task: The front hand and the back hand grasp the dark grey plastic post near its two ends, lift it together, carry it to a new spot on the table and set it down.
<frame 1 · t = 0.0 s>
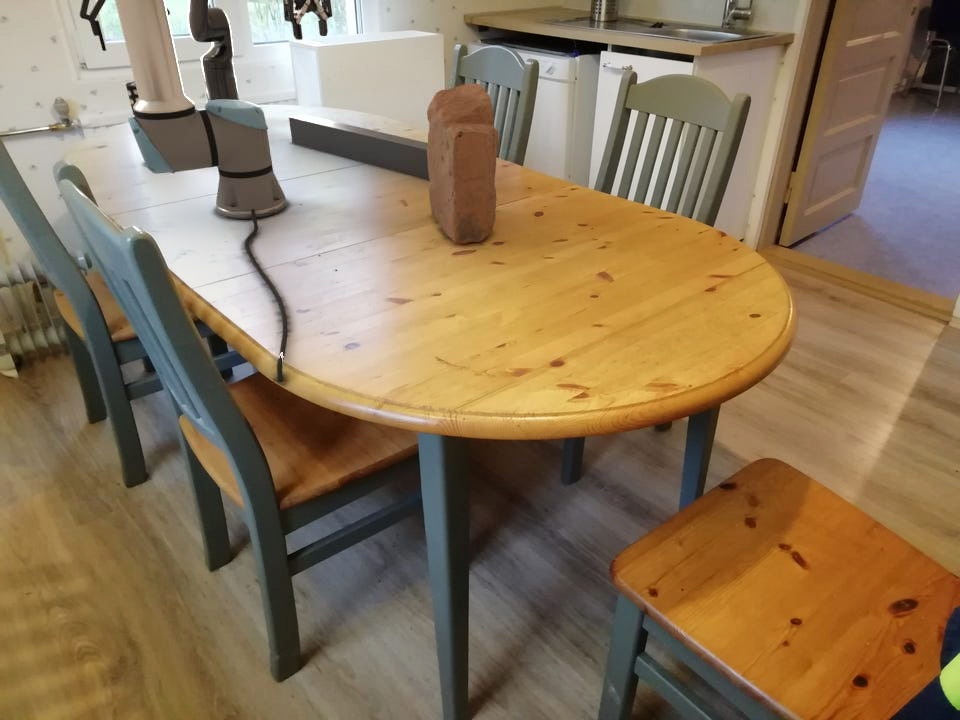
front hand: (133, 48, 174), 28 cm above the table, tool pointing down, fingers open, 13 cm apart
back hand: (311, 37, 184), 29 cm above the table, tool pointing down, fingers open, 8 cm apart
stone: (463, 225, 150), on the table
post: (381, 163, 188), on the table
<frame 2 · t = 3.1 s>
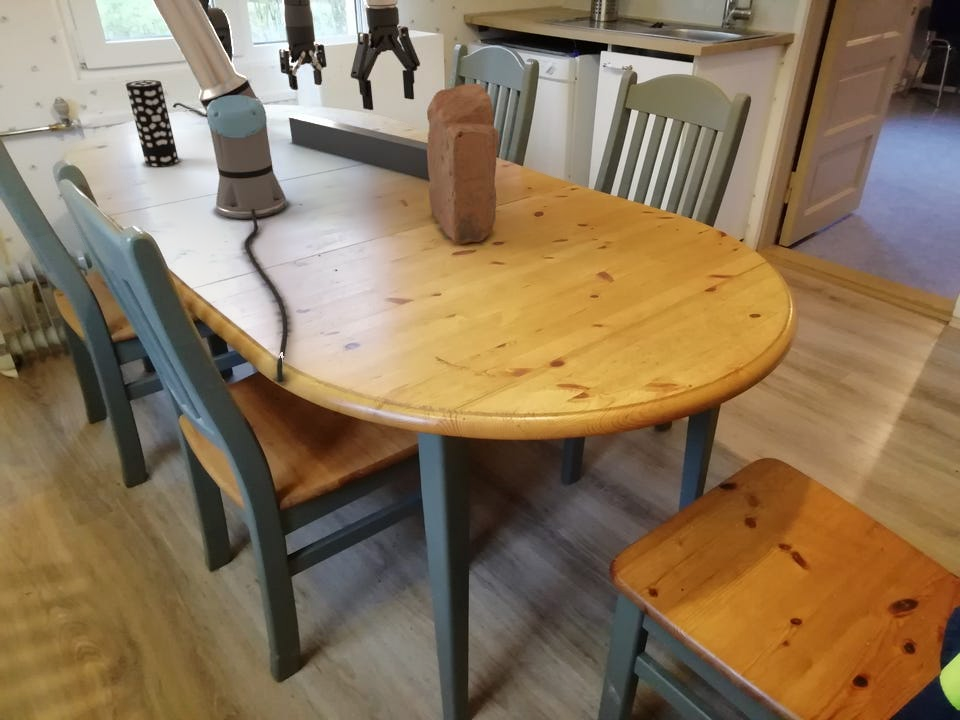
front hand: (389, 103, 168), 18 cm above the table, tool pointing down, fingers open, 13 cm apart
back hand: (306, 87, 193), 16 cm above the table, tool pointing down, fingers open, 8 cm apart
nothing on the table moved.
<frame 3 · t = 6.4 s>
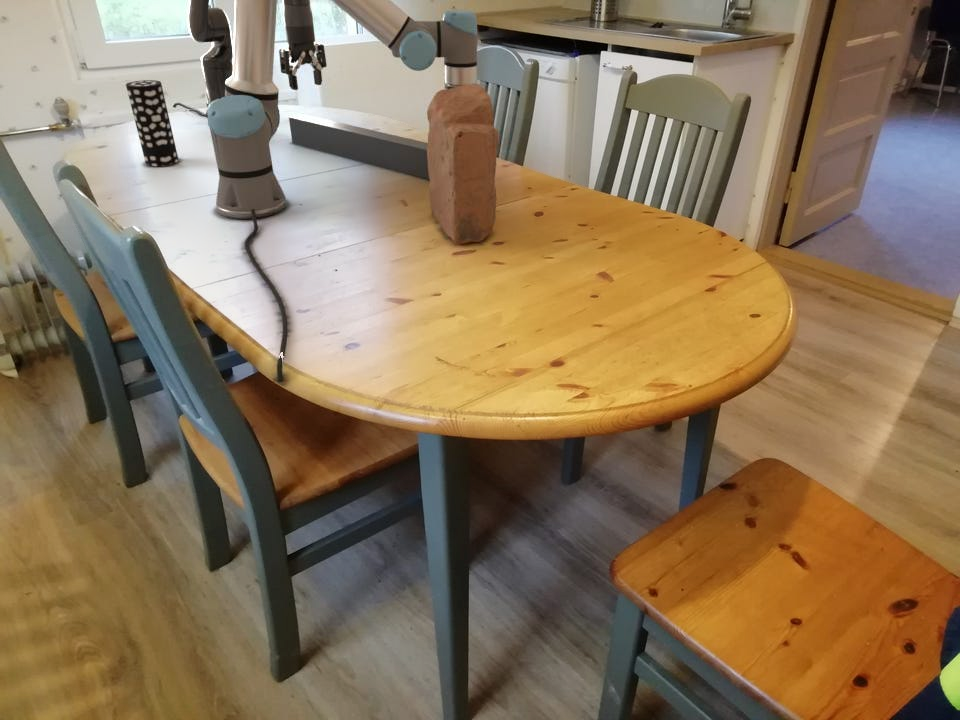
front hand: (461, 181, 174), 1 cm above the table, tool pointing down, fingers closed on post, 5 cm apart
back hand: (306, 87, 193), 16 cm above the table, tool pointing down, fingers open, 8 cm apart
post: (381, 163, 188), on the table, touching front hand
everything else where it was.
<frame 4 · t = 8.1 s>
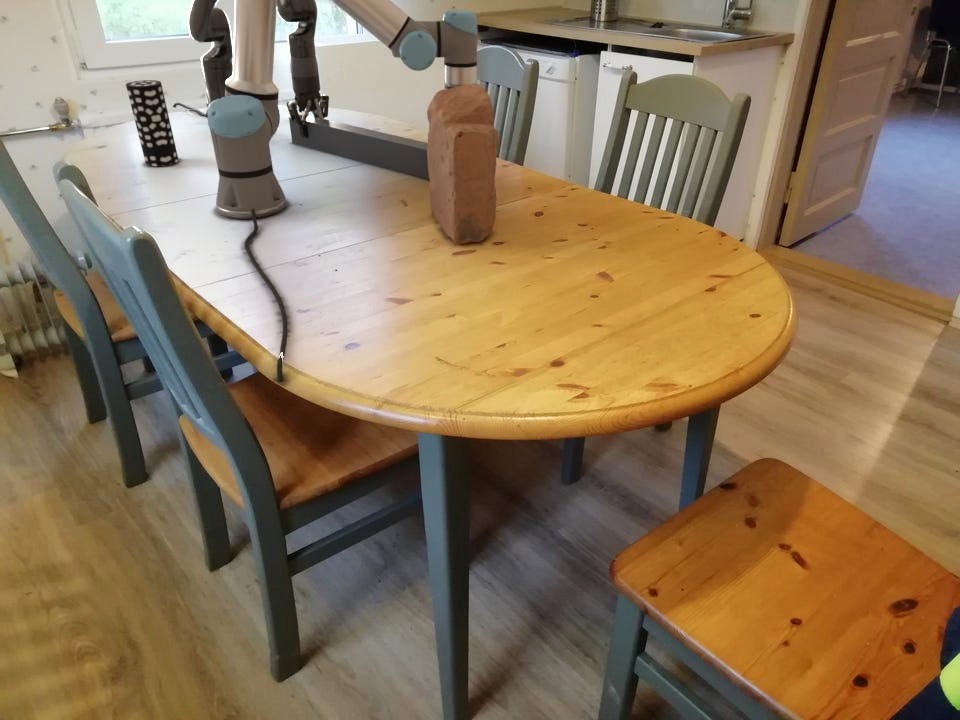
front hand: (461, 181, 174), 1 cm above the table, tool pointing down, fingers closed on post, 5 cm apart
back hand: (312, 135, 200), 3 cm above the table, tool pointing down, fingers closed on post, 5 cm apart
post: (381, 163, 188), on the table, touching front hand, back hand
everything else where it was.
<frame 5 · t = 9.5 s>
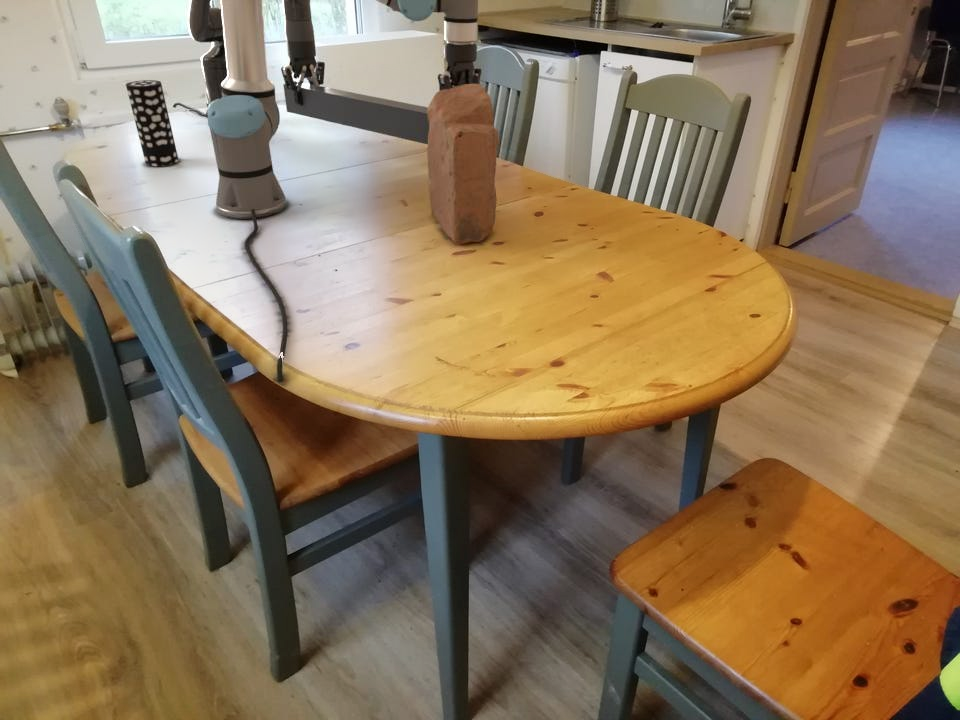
front hand: (459, 145, 169), 10 cm above the table, tool pointing down, fingers closed on post, 5 cm apart
back hand: (307, 102, 195), 12 cm above the table, tool pointing down, fingers closed on post, 5 cm apart
post: (378, 129, 183), point 9 cm above the table, touching front hand, back hand
everything else where it was.
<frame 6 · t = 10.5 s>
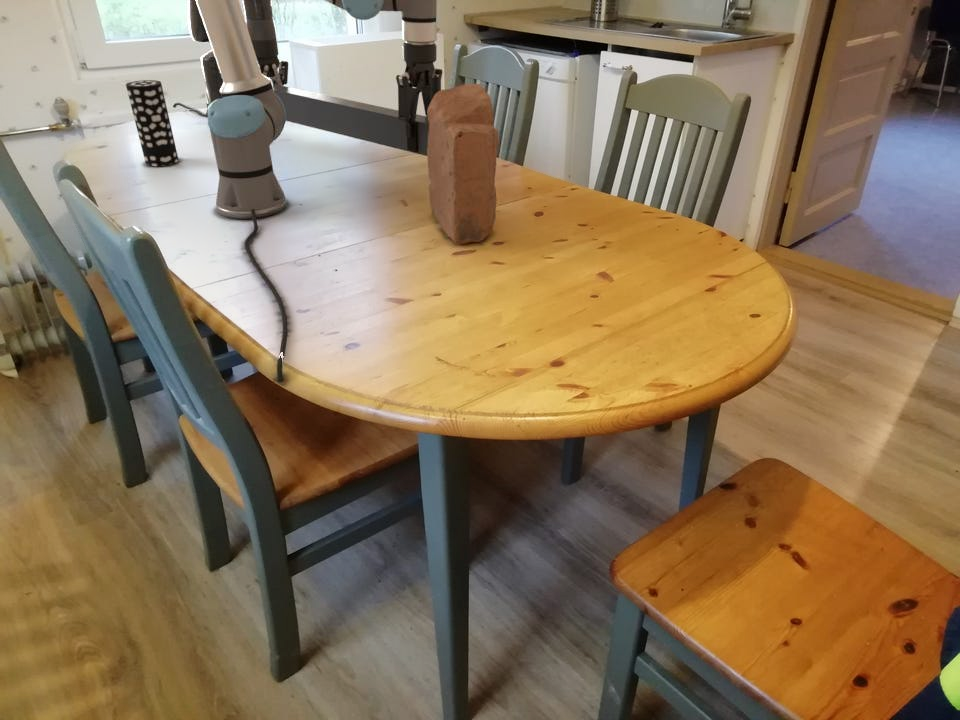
front hand: (420, 147, 165), 10 cm above the table, tool pointing down, fingers closed on post, 5 cm apart
back hand: (270, 103, 191), 13 cm above the table, tool pointing down, fingers closed on post, 5 cm apart
post: (341, 131, 179), point 10 cm above the table, touching front hand, back hand
everything else where it was.
when the front hand's fingers open (2 cm above the table, at t = 12.6 s): post drops 1 cm, on the table.
when the back hand's fingers open (4 cm above the table, at t = 12.8 s): post stays where it is, on the table.
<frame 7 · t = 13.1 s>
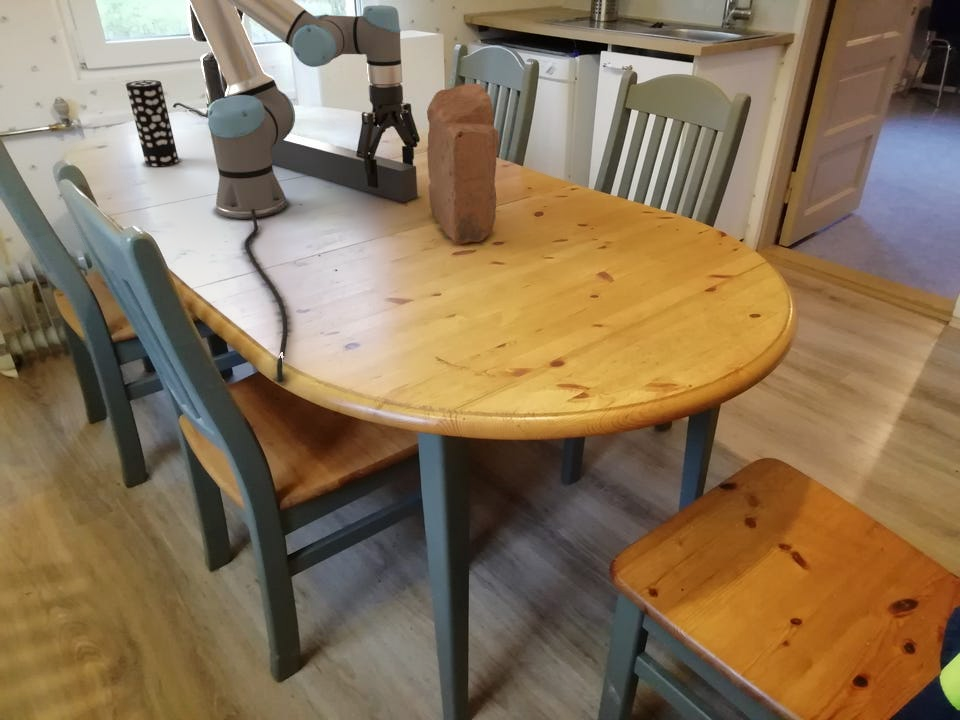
front hand: (391, 180, 165), 4 cm above the table, tool pointing down, fingers open, 11 cm apart
back hand: (245, 135, 192), 5 cm above the table, tool pointing down, fingers open, 7 cm apart
post: (313, 171, 181), on the table
everything else where it was.
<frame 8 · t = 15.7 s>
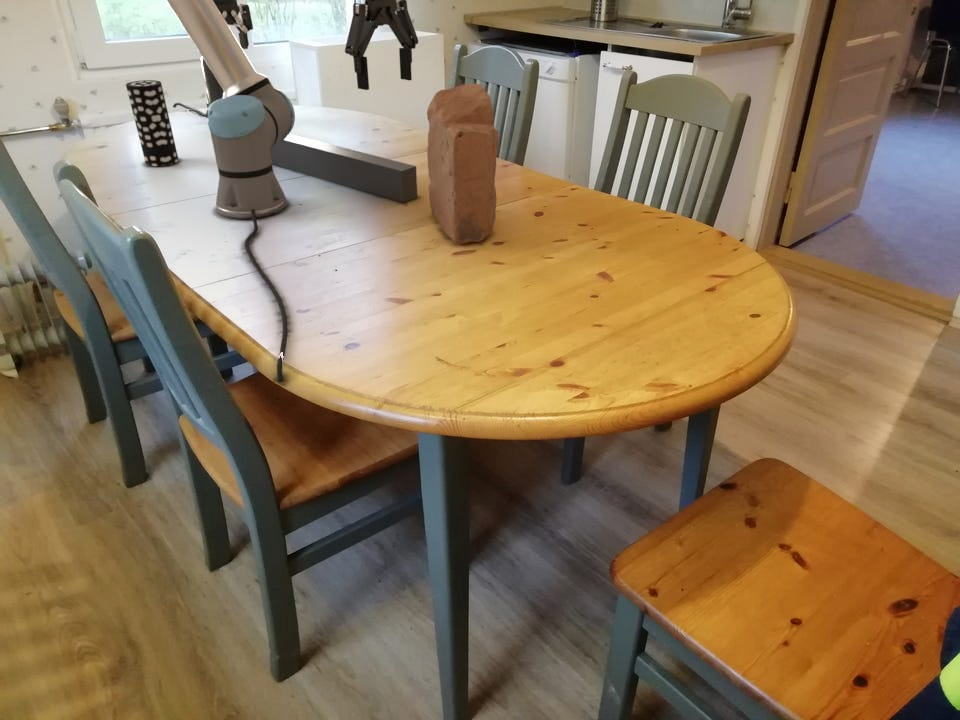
front hand: (385, 84, 153), 25 cm above the table, tool pointing down, fingers open, 13 cm apart
back hand: (230, 50, 180), 27 cm above the table, tool pointing down, fingers open, 8 cm apart
nothing on the table moved.
at the end: post inside the target area (0.5 cm from its centre), on the table; post tilted 0°; post never tilted more than 2° during the clip; both hands held the post at the same time; the front hand is holding nothing; the back hand is holding nothing; post at rest at the end (0.0 cm/s) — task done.
